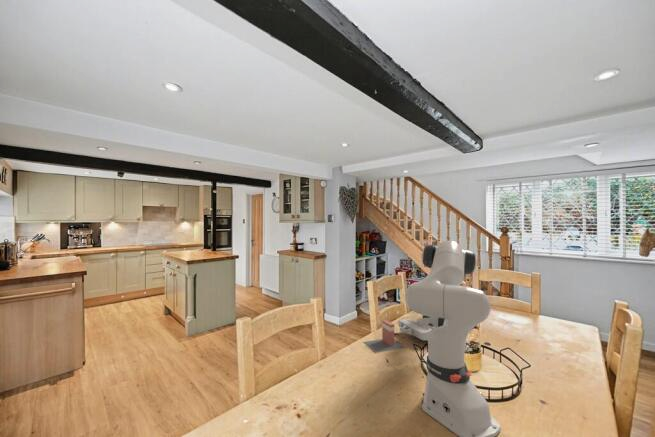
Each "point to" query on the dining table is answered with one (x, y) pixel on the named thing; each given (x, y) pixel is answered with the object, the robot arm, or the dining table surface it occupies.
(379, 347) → the mat
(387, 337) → the card box
